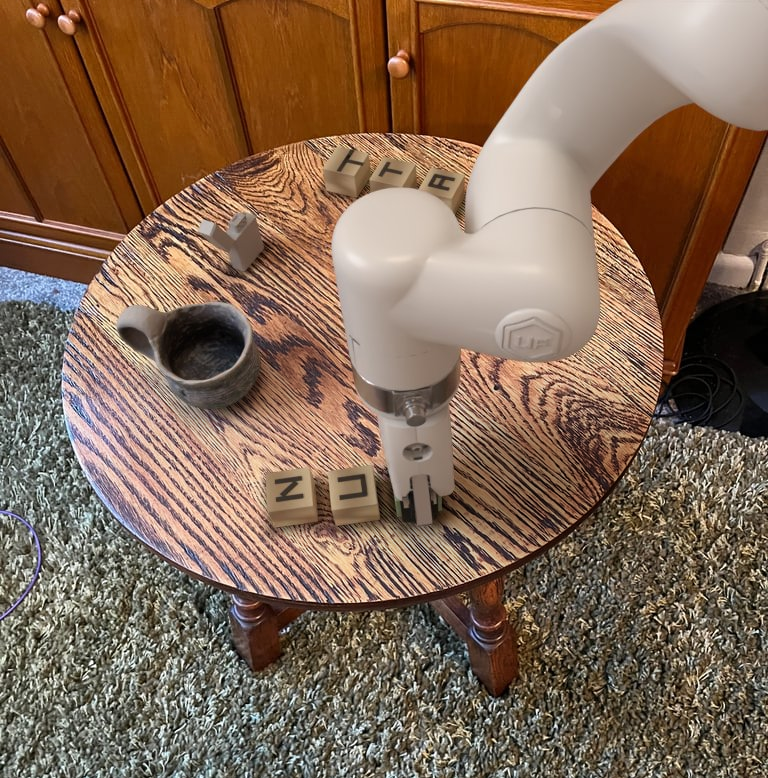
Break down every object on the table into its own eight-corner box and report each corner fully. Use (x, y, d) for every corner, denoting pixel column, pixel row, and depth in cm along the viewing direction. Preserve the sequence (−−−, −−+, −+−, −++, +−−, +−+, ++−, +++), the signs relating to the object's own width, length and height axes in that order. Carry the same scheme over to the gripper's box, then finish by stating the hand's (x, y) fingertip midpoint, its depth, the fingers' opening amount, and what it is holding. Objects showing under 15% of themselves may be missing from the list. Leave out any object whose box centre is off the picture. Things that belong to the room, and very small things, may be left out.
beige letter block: (372, 176, 90) (370, 152, 87) (358, 198, 88) (355, 175, 85) (340, 168, 91) (337, 145, 88) (326, 190, 89) (322, 167, 86)
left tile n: (315, 483, 71) (309, 465, 68) (318, 521, 69) (313, 505, 66) (272, 489, 71) (265, 472, 68) (274, 528, 69) (267, 511, 66)
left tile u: (375, 481, 70) (372, 463, 67) (380, 519, 68) (377, 503, 66) (332, 487, 70) (327, 470, 68) (336, 526, 68) (331, 509, 66)
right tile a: (464, 197, 87) (465, 173, 84) (451, 220, 85) (451, 197, 83) (431, 189, 88) (431, 166, 85) (418, 213, 86) (417, 189, 84)
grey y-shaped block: (252, 242, 86) (234, 181, 79) (265, 246, 86) (248, 186, 79) (216, 285, 83) (194, 226, 76) (229, 290, 83) (209, 231, 76)
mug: (263, 425, 74) (237, 357, 65) (137, 428, 75) (95, 362, 66) (272, 346, 79) (250, 274, 70) (153, 350, 80) (116, 279, 71)
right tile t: (417, 186, 88) (416, 162, 86) (403, 209, 87) (402, 186, 84) (385, 178, 89) (383, 155, 87) (371, 201, 88) (368, 178, 85)
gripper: (481, 458, 49) (474, 573, 65) (441, 268, 57) (443, 413, 73) (365, 474, 49) (386, 585, 65) (341, 283, 57) (365, 424, 73)
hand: (416, 493), depth 69 cm, fingers closed on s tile, 4 cm apart
